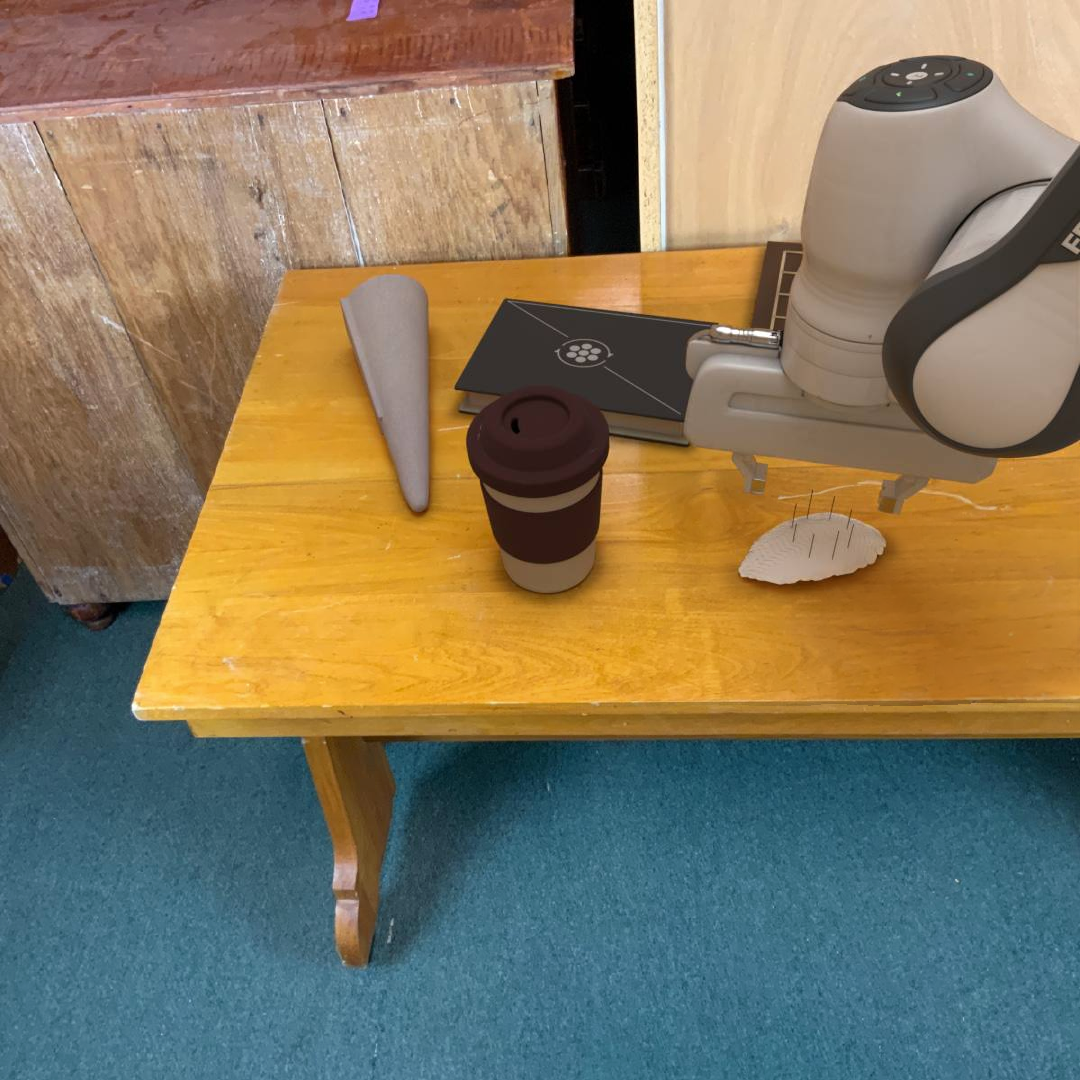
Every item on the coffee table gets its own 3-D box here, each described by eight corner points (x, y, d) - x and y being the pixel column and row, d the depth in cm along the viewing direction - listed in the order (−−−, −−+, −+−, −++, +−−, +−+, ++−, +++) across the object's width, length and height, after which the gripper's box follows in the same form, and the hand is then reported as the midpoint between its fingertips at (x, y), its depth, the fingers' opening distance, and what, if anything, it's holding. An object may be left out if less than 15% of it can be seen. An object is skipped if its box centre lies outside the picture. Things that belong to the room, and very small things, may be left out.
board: (961, 265, 99) (965, 253, 98) (967, 384, 86) (971, 373, 86) (766, 250, 104) (767, 239, 103) (744, 362, 91) (745, 350, 90)
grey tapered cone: (505, 455, 78) (423, 265, 92) (402, 483, 76) (335, 285, 91) (509, 514, 84) (431, 327, 98) (413, 540, 82) (349, 346, 97)
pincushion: (754, 608, 71) (762, 558, 67) (724, 550, 75) (729, 499, 71) (903, 572, 72) (920, 520, 68) (865, 516, 77) (879, 464, 72)
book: (718, 347, 93) (720, 321, 91) (688, 447, 83) (690, 421, 81) (507, 321, 98) (505, 296, 96) (457, 412, 89) (453, 387, 87)
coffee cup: (631, 535, 77) (631, 388, 66) (580, 626, 71) (570, 481, 60) (522, 502, 80) (504, 357, 69) (464, 586, 75) (435, 442, 63)
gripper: (679, 352, 59) (669, 507, 69) (1036, 392, 55) (969, 551, 65) (695, 294, 63) (683, 449, 73) (1028, 327, 59) (966, 487, 69)
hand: (820, 497), depth 69 cm, fingers open, 8 cm apart
